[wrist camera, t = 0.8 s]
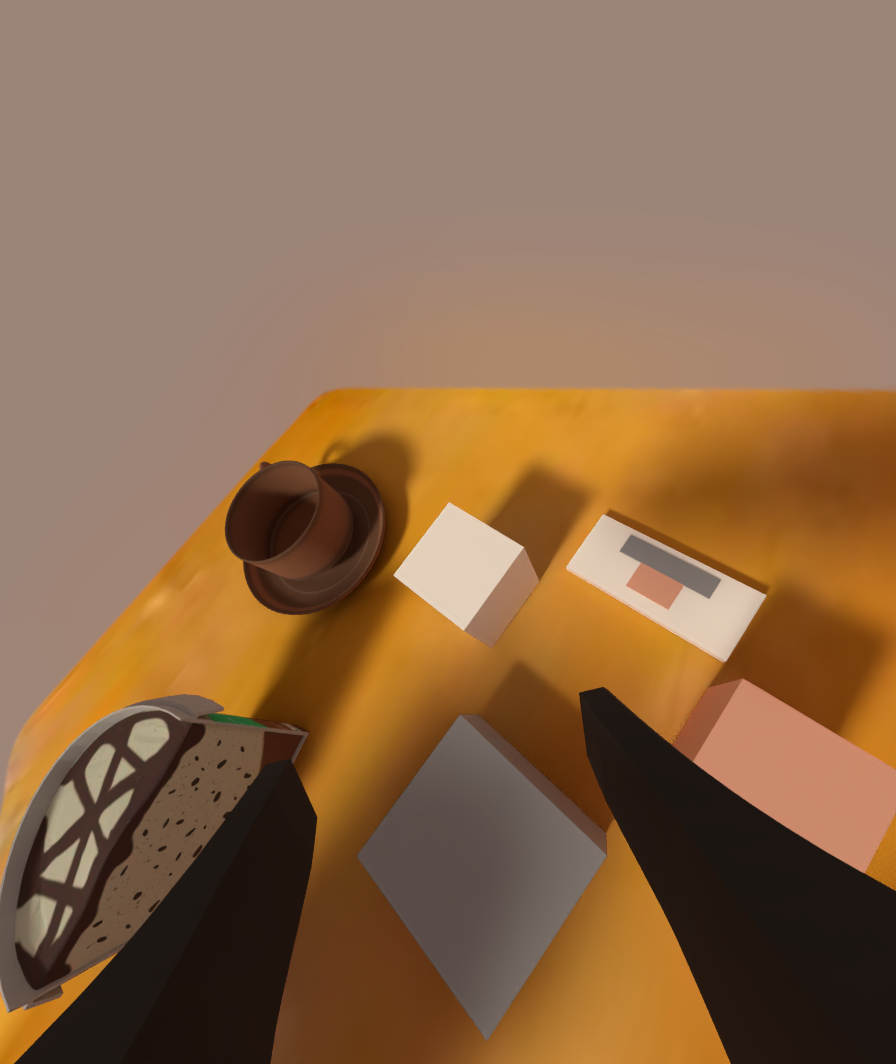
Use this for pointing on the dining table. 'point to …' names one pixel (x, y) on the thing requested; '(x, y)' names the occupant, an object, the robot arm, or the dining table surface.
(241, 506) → the cup and saucer
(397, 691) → the dining table surface
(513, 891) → the charcoal base block
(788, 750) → the terracotta block
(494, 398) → the dining table surface
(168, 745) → the food container
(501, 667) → the dining table surface
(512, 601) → the off-white block
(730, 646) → the card
